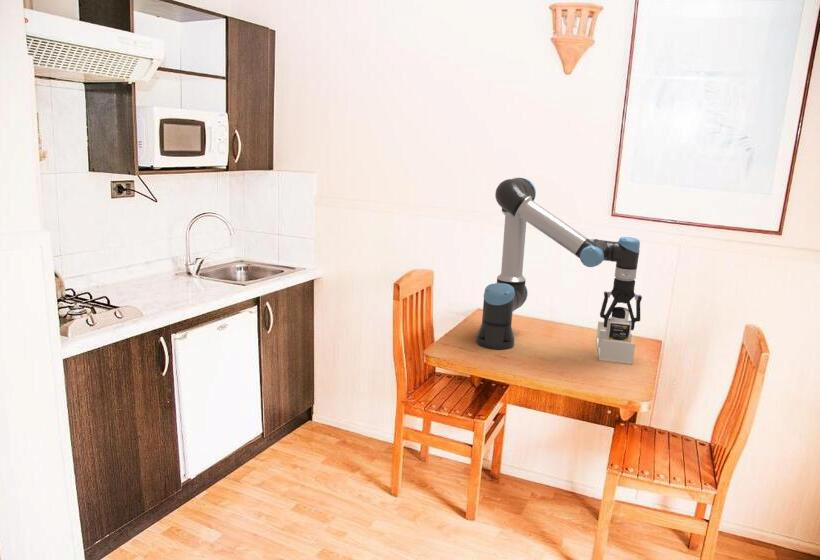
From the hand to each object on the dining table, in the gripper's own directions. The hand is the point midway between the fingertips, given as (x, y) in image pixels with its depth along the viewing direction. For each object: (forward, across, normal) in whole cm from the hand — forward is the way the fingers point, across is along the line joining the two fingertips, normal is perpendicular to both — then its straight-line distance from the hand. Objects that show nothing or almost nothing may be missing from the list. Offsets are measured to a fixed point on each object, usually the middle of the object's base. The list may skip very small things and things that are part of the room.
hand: (617, 336), depth 239 cm
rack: (+8, 0, +6) cm, 10 cm away
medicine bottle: (+1, 0, 0) cm, 1 cm away
